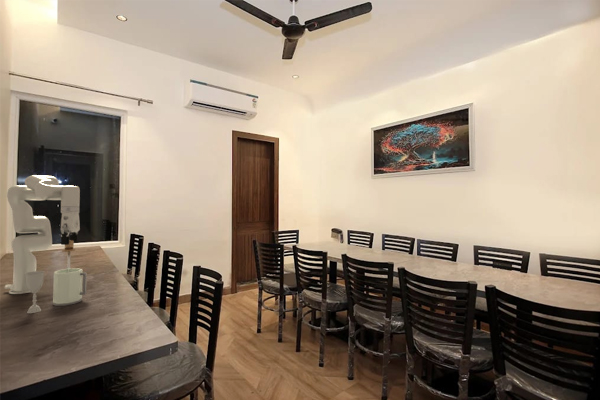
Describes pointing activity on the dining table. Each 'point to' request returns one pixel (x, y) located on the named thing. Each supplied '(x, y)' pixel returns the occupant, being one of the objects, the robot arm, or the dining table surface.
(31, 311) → the chalice
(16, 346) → the dining table surface
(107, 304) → the dining table surface
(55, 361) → the dining table surface
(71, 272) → the press carafe
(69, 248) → the plunger
